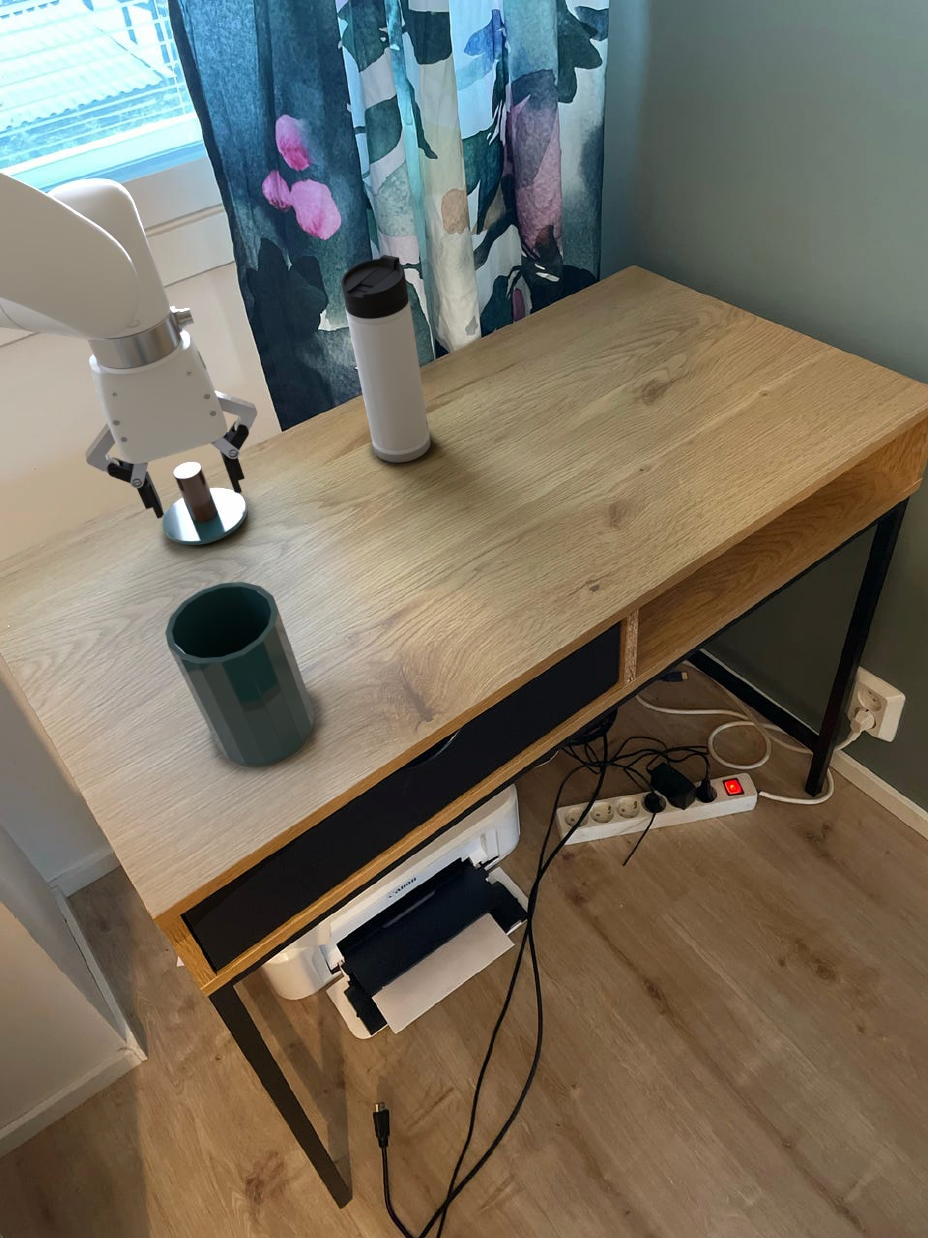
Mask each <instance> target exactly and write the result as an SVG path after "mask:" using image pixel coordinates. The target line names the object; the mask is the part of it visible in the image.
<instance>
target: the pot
mask: <svg viewBox="0 0 928 1238" xmlns="http://www.w3.org/2000/svg"><path fill="white" fill-rule="evenodd" d="M164 635H165V638H166V643H167V647H168V649H169V651H170V653H171V655H172V657H173V659H174V661H175V664H176V665H177V667H178V669H179V672H180V673H181V675H182V677H183V679H184V682H185V684H186V685H187V688H188V689H189V691H190V693H191V695H192V698H193V700H194V701H195V704H196V705H197V708H198V709H199V711H200V713H201V715H202V717H203V720H204V722H205V723H206V726H207V728H208V730H209V732H210V734H211V736H212V738H213V740H214V742H215V744H216V745H217V748H218V749H219V750H220V751H221V753H222V754H223V756H225V757H226V758H227V759H228V760H229V761H231V762H233V763H235V764H238V765H239V766H244V767H250V768H251V767H253V768H254V767H255V768H256V767H257V768H259V767H267V766H271V765H275V764H277V763H279V762H282V761H285V760H286V759H288V758H290V757H291V756H293V755H294V754H295V753H296V752H298V751H299V750H300V749H301V748H302V747H303V746H304V745H305V744H306V742H307V741H308V740H309V738H310V736H311V734H312V731H313V729H314V725H315V711H314V707H313V704H312V701H311V698H310V696H309V692H308V690H307V687H306V685H305V682H304V678H303V675H302V673H301V670H300V667H299V665H298V662H297V659H296V656H295V653H294V649H293V648H292V645H291V642H290V639H289V636H288V634H287V630H286V628H285V624H284V622H283V619H282V617H281V614H280V611H279V607H278V605H277V603H276V600H275V597H274V595H273V594H271V593H270V592H269V591H268V590H266V589H265V588H263V586H261V585H257V584H254V583H249V582H247V581H246V582H245V581H236V582H222V583H219V584H215V585H212V586H209V587H206V588H203V589H201V590H199V591H197V592H196V593H194V594H193V595H191V596H190V597H188V598H187V599H185V600H183V601H182V603H181V604H179V605H178V607H177V608H176V609H175V610H174V612H172V614H171V615H170V616H169V618H168V622H167V626H166V628H165V633H164Z"/></svg>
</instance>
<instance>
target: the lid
mask: <svg viewBox="0 0 928 1238" xmlns="http://www.w3.org/2000/svg"><path fill="white" fill-rule="evenodd" d="M172 472H173V473H172V475H173V478H174V480H175V483H176V485H177V488H178V490H179V492H180V493H179V494H180V495H181V498H179V499H178V500H177V501H175V502H173V504H172V505H171V506H170V507H168V509H167V510H166V511H165V512H164V515H163V517H162V529H163V532H165V535H166V537H168V538H169V539H170V540H171V541H173V542H175V543H177V544H181V545H186V546H187V545H188V546H197V545H198V546H199V545H206V544H210V543H213V542H216V541H219V540H221V539H223V538H225V537H227V536H229V535H230V534H231V533H234V531H236V529H237V530H238V528H239V527H240V526H241V524H242V523H243V522H244V521H245V518H246V516H247V513H248V506H247V503H246V500H245V499H244V497H243V495H241V493H238V494H237V493H235V492H234V489H229V488H223V487H210V486H209V483H208V480H207V477H206V475H205V473H204V470H203V467H202V465H201V464H200V463H199V462H196V461H188V462H183V463H182V464H179V465H178V466H176V467H175V468H174V469H173V471H172Z"/></svg>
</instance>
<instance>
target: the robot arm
mask: <svg viewBox="0 0 928 1238" xmlns="http://www.w3.org/2000/svg"><path fill="white" fill-rule="evenodd" d="M156 264H157V263H156V261H155V259H154V256H153V252H152V250H151V247H150V244H149V241H148V238H147V236H146V232H145V230H144V226H143V224H142V221H141V218H140V215H139V213H138V209H137V207H136V204H135V202H134V200H133V198H132V196H131V194H130V193H129V191H128V190H127V189H126V188H125V186H123V185H122V184H120V183H118V182H117V181H114V180H111V179H108V178H107V179H106V178H87V179H80V180H76V181H71V182H67V183H65V184H61V185H59V186H57V187H54V188H53V189H51V190H50V191H48V192H44V191H42V190H40V189H38V188H36V187H34V186H33V185H30V184H28V183H26V182H23V181H22V180H20V179H17V178H15V177H13V176H11V175H8V174H6V173H4V172H2V171H0V328H4V329H9V330H18V331H25V332H32V333H42V334H49V335H57V336H62V337H70V338H76V339H82V340H87V342H88V344H89V347H90V349H91V352H92V355H91V356H90V357H89V359H88V364H89V369H90V374H91V378H92V382H93V385H94V389H95V393H96V395H97V398H98V402H99V403H100V407H101V409H102V413H103V415H104V418H105V420H106V424H105V425H104V427H103V428H102V429H101V430H100V432H99V433H98V435H97V436H96V437H95V439H93V441H92V443H91V444H90V445H89V447H88V448H87V450H86V451H85V454H84V455H85V460H86V463H87V464H88V465H90V466H91V467H93V468H96V469H97V470H99V471H102V472H105V473H107V474H108V475H109V477H112V478H114V479H116V480H119V481H123V482H125V483H128V484H130V487H132V488H134V489H136V490H137V492H138V495H139V497H140V499H141V501H142V504H143V506H144V507H145V510H150V509H152V510H153V512H154V514H155V517H156V518H157V519H163V518H164V515H165V512H164V509H163V505H162V502H161V498H160V496H159V494H158V491H157V489H156V486H155V485H154V482H153V480H152V478H151V475H150V472H149V471H148V465H149V462H153V461H156V460H161V459H163V458H167V457H170V456H173V455H177V454H180V453H184V452H187V451H191V450H194V449H198V448H200V447H203V446H206V445H209V444H211V446H213V447H215V448H216V449H217V450H218V451H219V453H220V456H221V458H222V461H223V464H224V467H225V470H226V473H227V475H228V478H229V481H230V483H231V484H230V485H231V486H232V488H233V489H232V490H233V491H234V492H235V493H237V494H238V493H239V494H242V493H243V490H242V487H241V485H240V482H239V481H243V480H246V478H245V475H244V472H243V469H242V466H241V463H240V459H239V456H240V450H241V449H242V447H243V445H244V443H245V441H246V440H247V438H249V435H250V429H251V428H252V427H253V424H254V422H255V420H256V417H257V416H258V410H257V408H256V406H255V404H254V403H253V402H252V401H251V402H250V401H247V400H245V399H241V398H238V397H235V396H233V395H230V394H226V393H224V392H221V391H217V390H216V389H215V386H214V384H213V380H212V379H211V376H210V373H209V371H208V369H207V366H206V364H205V362H204V359H203V357H202V355H201V353H200V351H199V349H198V347H197V346H196V344H195V342H194V339H192V337H191V335H190V334H189V332H188V331H186V330H184V329H186V328H187V326H190V325H193V324H195V322H194V318H193V315H192V313H191V311H190V308H189V307H188V308H183V309H180V308H178V309H176V308H175V306H171V304H170V301H169V298H168V295H167V292H166V289H165V287H164V283H163V281H162V278H161V276H160V275H161V274H160V272H159V270H158V267H157V265H156ZM224 413H229V414H231V415H235V416H237V417H236V420H235V421H234V422H233V424H232V425H231V427H230V428H229V430H228V426H227V420H226V417H225V414H224ZM115 445H116V448H117V449H118V452H119V454H120V456H121V457H122V459H120V458H118V457H111V456H110V455H109V454H108V453H109V452H110V451H111V449H112V448H113V447H114V446H115Z"/></svg>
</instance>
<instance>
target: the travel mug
mask: <svg viewBox="0 0 928 1238" xmlns="http://www.w3.org/2000/svg"><path fill="white" fill-rule="evenodd" d="M406 279H407V278H406V272H405V267H404V266H403V264H402V263H401V261H400V257H398V256H394V255H388V254H383V255H381V256H379V258H373V259H369V260H365V261H362V262H360V263H358V264H356V265H354V266H353V267H351V268H350V269H348V270H347V271H346V272H345V273H344V274H343V276H342V278H341V281H340V286H341V292H342V297H343V300H344V306H345V313H346V319H347V323H348V329H349V333H350V334H349V335H350V339H351V343H352V344H351V345H352V348H353V352H354V359H355V363H356V369H357V374H358V379H359V383H360V387H361V388H360V389H361V392H362V398H363V402H364V403H363V404H364V406H365V407H364V408H365V412H366V417H367V423H368V427H369V431H370V436H371V442H372V447H373V452H374V453H375V455H376V456H377V457H378V458H379V459H381V460H383V461H386V462H390V463H407V462H411V461H413V460H416V459H418V458H420V457H422V456H423V455H424V454H425V453H426V452H427V451H428V450H429V449H430V446H431V437H430V431H429V430H430V429H429V424H428V422H429V421H428V416H427V409H426V402H425V396H424V390H423V382H422V377H421V367H420V362H419V355H418V350H417V349H418V347H417V342H416V336H415V329H414V322H413V316H412V315H413V313H412V308H411V302H410V297H409V292H408V286H407V280H406Z"/></svg>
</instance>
